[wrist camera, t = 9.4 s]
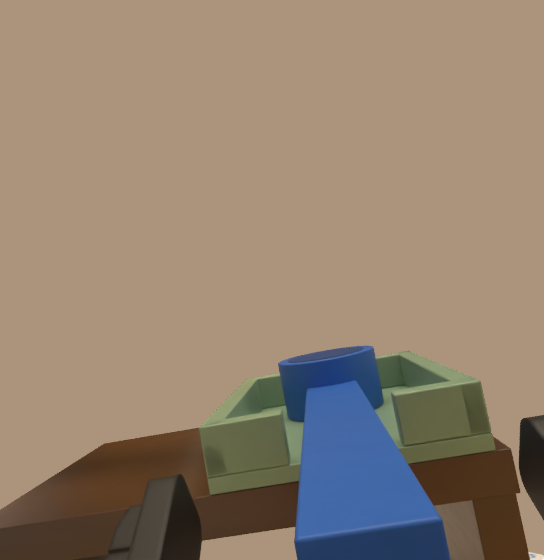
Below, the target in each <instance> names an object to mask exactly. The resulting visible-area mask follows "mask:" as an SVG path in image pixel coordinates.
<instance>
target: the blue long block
mask: <svg viewBox="0 0 544 560" xmlns="http://www.w3.org/2000/svg"><path fill="white" fill-rule="evenodd" d="M278 366H279V372H280V377H281V382H282V388H283V393H284V399H285V404H286V410H287V415H288V418H289V419H290V420H293V421H298V422H304V428H303V440H302V453H301V465H300V478H299V490H298V503H297V515H296V527H295V541H294V543H295V548H296V554H297V560H451V559H450V554H449V549H448V544H447V539H446V535H445V530H444V525H443V520H442V518H441V517H440V515H439V514H438V512H437V510H436V509H435V507H434V505H433V504H432V502H431V501H430V499H429V497H428V496H427V494H426V493H425V491H424V489H423V488H422V486H421V485H420V483H419V481H418V480H417V478H416V476H415V475H414V473H413V472H412V470H411V468H410V467H409V465H408V464H407V462H406V460H405V459H404V457H403V456H402V454H401V452H400V451H399V449H398V447H397V446H396V444H395V443H394V441H393V439H392V438H391V436H390V435H389V433H388V431H387V430H386V428H385V427H384V425H383V423H382V422H381V420H380V418H379V417H378V415H377V414H376V412H375V410H374V409H376V408H378V407H380V406H381V405H382V404H383V403H384V398H383V393H382V388H381V383H380V378H379V373H378V368H377V363H376V358H375V353H374V348H373V347H372V346H355V347H346V348H339V349H332V350H326V351H321V352H315V353H310V354H306V355H301V356H297V357H293V358H290V359H287V360H284V361H281V362H280V363H278Z"/></svg>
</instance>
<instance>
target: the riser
mask: <svg viewBox="0 0 544 560" xmlns="http://www.w3.org/2000/svg"><path fill="white" fill-rule="evenodd" d="M493 439H494V444H495V450H494V451H487V452H481V453H475V454H468V455H462V456H456V457H449V458H443V459H436V460H430V461H424V462H417V463H411V464H408V465H409V467H410V468H411V470H412V472H413V473H414V475H415V476H416V478H417V480H418V481H419V483H420V485H421V486H422V488H423V489H424V491H425V493H426V494H427V496H428V497H429V499H430V501H431V502H432V504H433V505H434V507H435V509H436V510H437V512H438V514H439V515H440V517H441V518H442V520H443V525H444V530H445V535H446V539H447V544H448V549H449V554H450V559H451V560H530V557H529V553H528V548H527V543H526V539H525V535H524V530H523V525H522V521H521V516H520V512H519V507H518V502H517V498H516V493H520V488H519V484H518V479H517V475H516V470H515V465H514V461H513V456H512V452H511V449H510V448H509V447H508V446H506V445H505V444H503V443H502V442H500V441H499V440H497V439H496V438H494V437H493ZM177 474H182V475H183V477H184V479H185V481H186V484H187V486H188V489H189V491H190V494H191V496H192V499H193V501H194V504H195V506H196V509H197V511H198V514H199V517H200V522H201V529H202V541H203V540H209V539H216V538H222V537H229V536H236V535H242V534H249V533H255V532H262V531H269V530H275V529H282V528H289V527H296V515H297V503H298V490H299V481H296V482H290V483H284V484H277V485H271V486H265V487H258V488H252V489H246V490H239V491H233V492H226V493H220V494H214V495H210V492H209V486H208V480H207V479H208V477H207V473H206V467H205V461H204V455H203V449H202V443H201V437H200V431H199V428H195V429H189V430H184V431H177V432H171V433H165V434H159V435H153V436H148V437H141V438H135V439H130V440H124V441H118V442H112V443H106V444H103V445H101V446H100V447H98V448H97V449H95V450H94V451H92V452H90V453H89V454H87V455H86V456H84V457H83V458H81V459H80V460H78V461H76V462H75V463H73V464H72V465H70V466H69V467H67V468H65V469H64V470H62V471H61V472H59V473H57V474H56V475H54V476H53V477H51V478H50V479H48V480H46V481H45V482H43V483H42V484H40V485H39V486H37V487H35V488H34V489H32V490H31V491H29V492H28V493H26V494H25V495H23V496H21V497H20V498H18V499H17V500H15V501H14V502H12V503H10V504H9V505H7V506H6V507H4V508H3V509H1V510H0V560H105V559H106V555H108V549H109V546H110V542H111V539H112V536H113V533H114V529H115V527H116V525H117V524H118V523H119V521H120V520H121V518H122V517H123V515H124V514H125V512H126V511H127V509H128V508H129V506H134V505H141V504H142V501H143V497H144V493H145V490H146V486H147V483H148V481H149V480H150V479H153V478H159V477H165V476H171V475H177Z"/></svg>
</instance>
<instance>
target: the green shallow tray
mask: <svg viewBox="0 0 544 560" xmlns="http://www.w3.org/2000/svg"><path fill="white" fill-rule="evenodd" d="M375 358H376V363H377V368H378V373H379V378H380V383H381V388H382V393H383V398H384V403H383V404H382V405H381V406H380V407H378V408H376V409H374V410H375V412H376V414H377V415H378V417H379V418H380V420H381V422H382V423H383V425H384V427H385V428H386V430H387V431H388V433H389V435H390V436H391V438H392V439H393V441H394V443H395V444H396V446H397V447H398V449H399V451H400V452H401V454H402V456H403V457H404V459H405V460H406V462H407V464H411V463H417V462H424V461H430V460H436V459H443V458H449V457H456V456H462V455H468V454H475V453H481V452H487V451H494V450H495V444H494V439H493V435H492V433H491V427H490V423H489V417H488V413H487V408H486V404H485V399H484V395H483V390H482V386H481V382H480V380H478V379H475V378H472V377H470V376H468V375H465V374H463V373H460V372H458V371H455V370H453V369H451V368H448V367H446V366H443V365H441V364H439V363H436V362H434V361H431V360H429V359H427V358H424V357H422V356H419V355H417V354H415V353H412V352H410V351H406V352H400V353H394V354H388V355H382V356H377V357H375ZM303 428H304V422H298V421H293V420H290V419H289V418H288V415H287V410H286V404H285V399H284V393H283V388H282V382H281V377H280V373H279V374H274V375H268V376H262V377H256V378H251V379H246V380H245V381H244V382H243V383H242V384H241V385H240V386H239V388H238V389H237V390H236V391H235V392H234V393H233V394H232V395H231V396H230V397H229V398H228V399H227V400H226V401H225V402H224V403H223V404H222V405H221V406H220V407H219V408H218V409H217V410H216V411H215V412H214V413H213V414H212V415H211V416H210V417H209V418H208V419H207V420H206V421H205V422H204V423H203V424H202V425H201V426H200V427H199V431H200V437H201V443H202V449H203V455H204V461H205V467H206V473H207V477H208V479H207V480H208V486H209V492H210V495H214V494H220V493H226V492H233V491H239V490H246V489H252V488H258V487H265V486H271V485H277V484H284V483H290V482H296V481H299V478H300V465H301V453H302V440H303Z"/></svg>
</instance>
